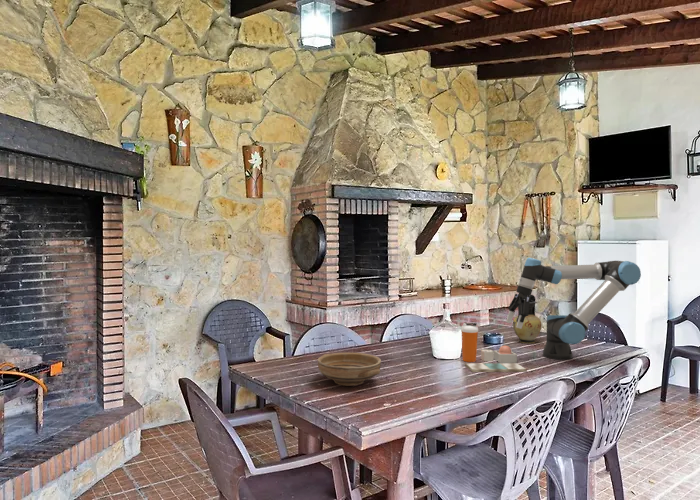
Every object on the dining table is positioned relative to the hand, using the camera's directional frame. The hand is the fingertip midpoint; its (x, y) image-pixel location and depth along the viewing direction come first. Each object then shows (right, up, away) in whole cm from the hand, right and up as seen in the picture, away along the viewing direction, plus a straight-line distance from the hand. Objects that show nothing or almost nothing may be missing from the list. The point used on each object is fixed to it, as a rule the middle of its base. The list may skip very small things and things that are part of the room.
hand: (513, 325), depth 263 cm
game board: (-14, -19, -14) cm, 27 cm away
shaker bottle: (-23, -19, +3) cm, 30 cm away
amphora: (+26, -19, +52) cm, 61 cm away
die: (-13, -19, +4) cm, 23 cm away
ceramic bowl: (-86, -19, -39) cm, 97 cm away
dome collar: (-4, -19, +3) cm, 20 cm away
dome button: (-4, -17, +3) cm, 18 cm away
